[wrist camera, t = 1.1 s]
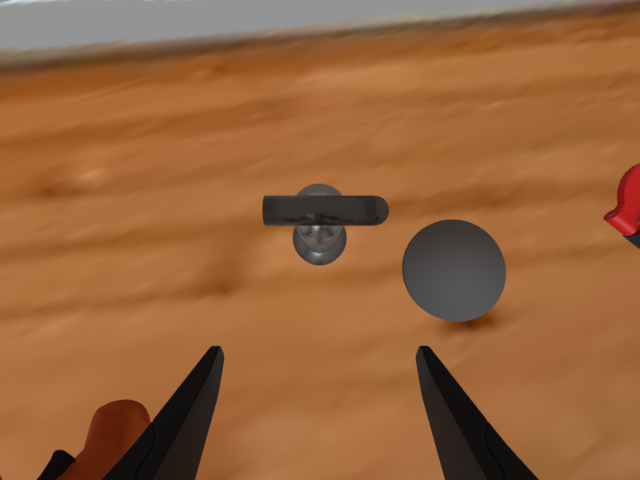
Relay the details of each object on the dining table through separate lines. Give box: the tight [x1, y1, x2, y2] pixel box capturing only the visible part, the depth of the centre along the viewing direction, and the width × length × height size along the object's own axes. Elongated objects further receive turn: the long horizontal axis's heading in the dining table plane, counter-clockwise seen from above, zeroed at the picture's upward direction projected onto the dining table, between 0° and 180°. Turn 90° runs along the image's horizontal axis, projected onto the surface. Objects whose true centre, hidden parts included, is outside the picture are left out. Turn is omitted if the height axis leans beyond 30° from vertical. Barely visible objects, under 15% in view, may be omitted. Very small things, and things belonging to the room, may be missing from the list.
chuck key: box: [262, 183, 389, 266], centre depth 19 cm, size 4×6×14 cm
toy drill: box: [0, 399, 151, 480], centre depth 17 cm, size 5×19×15 cm, turn 1°
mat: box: [402, 219, 506, 322], centre depth 26 cm, size 9×9×1 cm
